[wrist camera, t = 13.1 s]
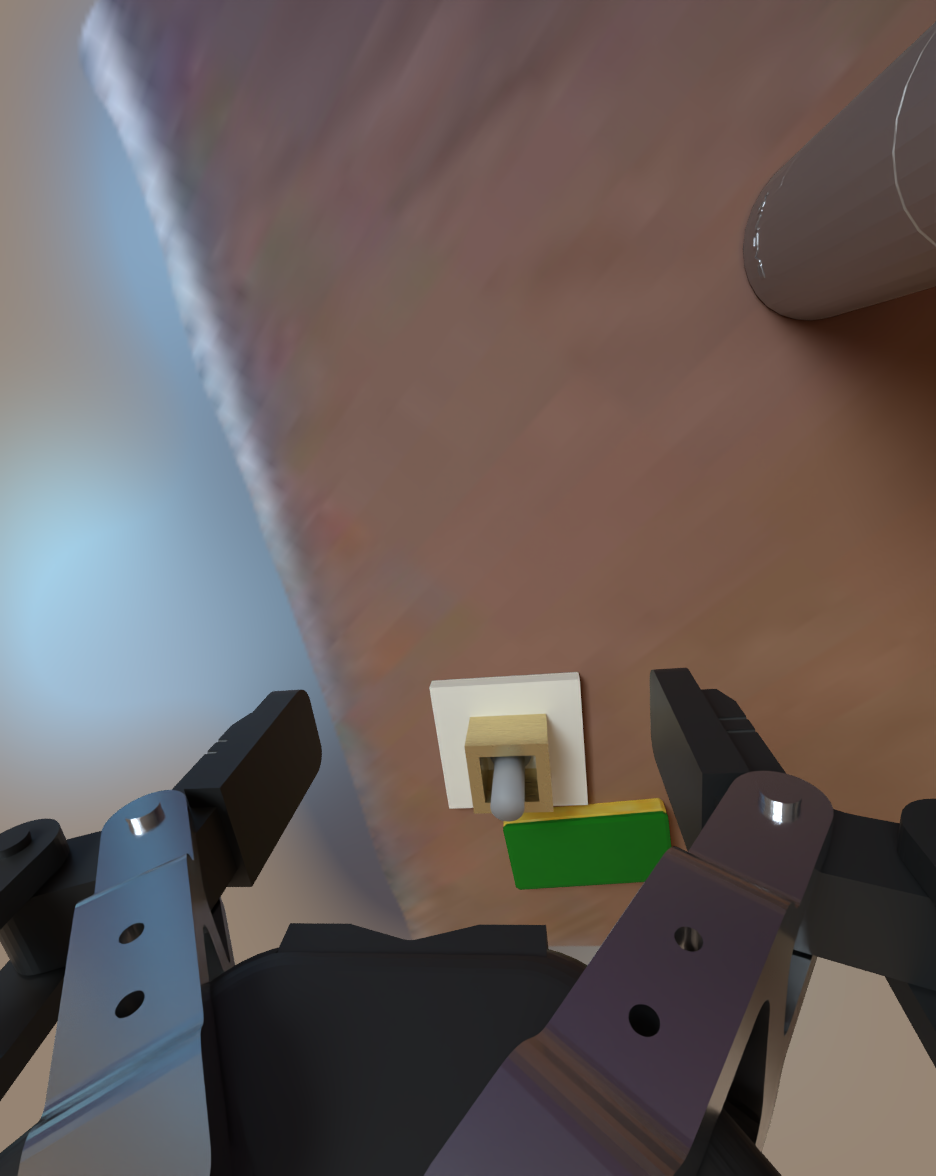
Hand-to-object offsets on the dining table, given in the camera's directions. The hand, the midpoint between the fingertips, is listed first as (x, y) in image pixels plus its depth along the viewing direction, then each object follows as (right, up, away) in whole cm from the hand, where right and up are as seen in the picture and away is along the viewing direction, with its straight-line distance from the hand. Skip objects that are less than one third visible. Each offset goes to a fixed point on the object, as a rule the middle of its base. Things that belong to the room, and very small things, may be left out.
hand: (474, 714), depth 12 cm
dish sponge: (+11, -19, +36) cm, 42 cm away
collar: (+3, -10, +32) cm, 34 cm away
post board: (+3, -10, +33) cm, 35 cm away
